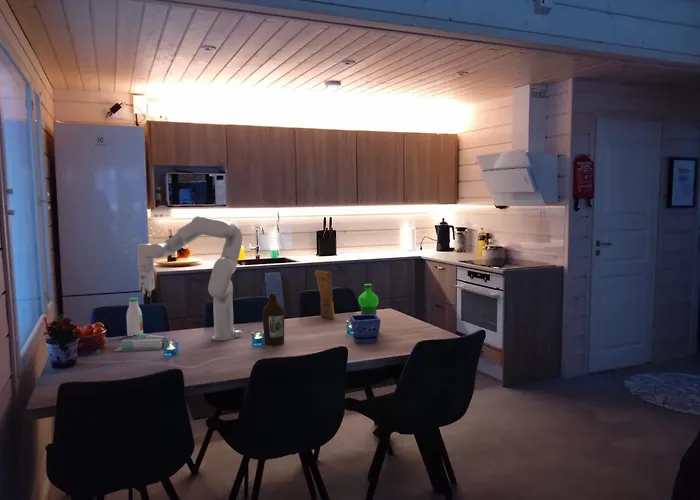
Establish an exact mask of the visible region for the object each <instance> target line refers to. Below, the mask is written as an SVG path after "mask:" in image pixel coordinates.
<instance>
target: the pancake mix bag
mask: <svg viewBox="0 0 700 500" xmlns="http://www.w3.org/2000/svg"><path fill="white" fill-rule="evenodd" d="M314 275H315V278H316V281H317V285H318V289H319V295H320V296H319V297H320V316H321V317H323V318H325V319H331V320H332V319H334V318H335V310H334V308H335V307H334V300H333V286H332V272H331V271H327V270H318V269H316V270H315V271H314Z"/></svg>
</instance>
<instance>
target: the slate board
mask: <svg viewBox="0 0 700 500" xmlns="http://www.w3.org/2000/svg"><path fill="white" fill-rule="evenodd" d="M173 340H178V343H179V342H180V341H181V340H182V338H177V339H176V338H175V339H173ZM161 350H164V346H163V349H131V350H122V345H121V346H120V347H118V348H116V349H114V352H130V351H131V352H133V351H135V352H136V351H161Z"/></svg>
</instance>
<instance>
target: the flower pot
mask: <svg viewBox="0 0 700 500" xmlns="http://www.w3.org/2000/svg"><path fill="white" fill-rule="evenodd" d="M349 321H350V327H351V329H352V332H353V334H351V337H352V338H353V340H354V341H355V343H356V344H359V345H360V344H362V345H363V344H374V343H378V341H379V340H380V339H379V337H378V335H379V332H380V329H381V319H380V317H379V316H378V315H377V314H376V315H375V314H365V315H361V314H352V315H350V316H349Z"/></svg>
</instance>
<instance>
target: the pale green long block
mask: <svg viewBox="0 0 700 500" xmlns="http://www.w3.org/2000/svg"><path fill="white" fill-rule="evenodd" d="M168 337H169V336H166V337H163V342H164V343H165V342H168ZM163 342H162V339H143V340H138V339H134V338H133V339H122V340H121V342H120V343H121V346H122V350H131V349H163Z"/></svg>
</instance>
